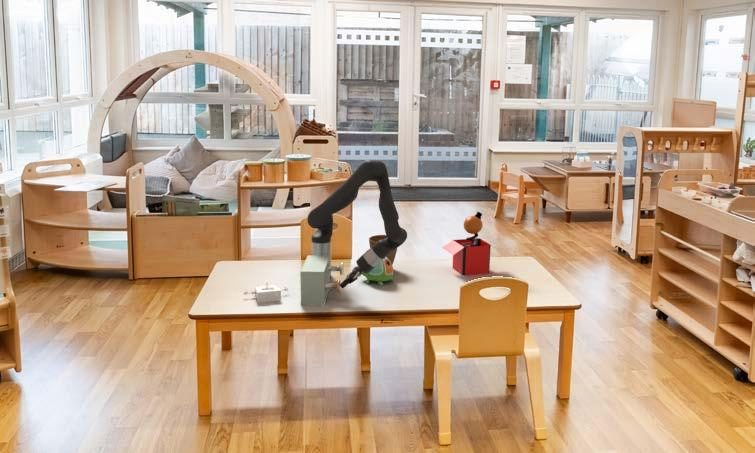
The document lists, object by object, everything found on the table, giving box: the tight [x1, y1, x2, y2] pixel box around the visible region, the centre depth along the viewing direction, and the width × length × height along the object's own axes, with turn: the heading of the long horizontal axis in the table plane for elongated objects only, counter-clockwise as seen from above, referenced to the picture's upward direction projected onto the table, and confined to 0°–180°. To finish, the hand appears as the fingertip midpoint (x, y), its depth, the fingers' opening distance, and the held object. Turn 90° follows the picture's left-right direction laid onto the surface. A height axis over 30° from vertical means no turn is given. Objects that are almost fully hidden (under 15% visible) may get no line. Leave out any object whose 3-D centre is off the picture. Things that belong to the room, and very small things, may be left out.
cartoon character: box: [243, 282, 289, 303], centre depth 340 cm, size 8×20×16 cm
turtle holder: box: [361, 257, 394, 286], centre depth 363 cm, size 12×18×12 cm
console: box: [300, 254, 331, 306], centre depth 340 cm, size 10×26×15 cm, turn 178°
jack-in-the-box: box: [442, 211, 496, 277], centre depth 379 cm, size 26×16×30 cm, turn 106°
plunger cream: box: [328, 261, 345, 276], centre depth 345 cm, size 13×6×6 cm, turn 88°
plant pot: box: [368, 234, 398, 266], centre depth 381 cm, size 15×15×16 cm
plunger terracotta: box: [325, 279, 341, 294], centre depth 334 cm, size 13×6×6 cm, turn 88°
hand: (341, 286), depth 334 cm, fingers closed
